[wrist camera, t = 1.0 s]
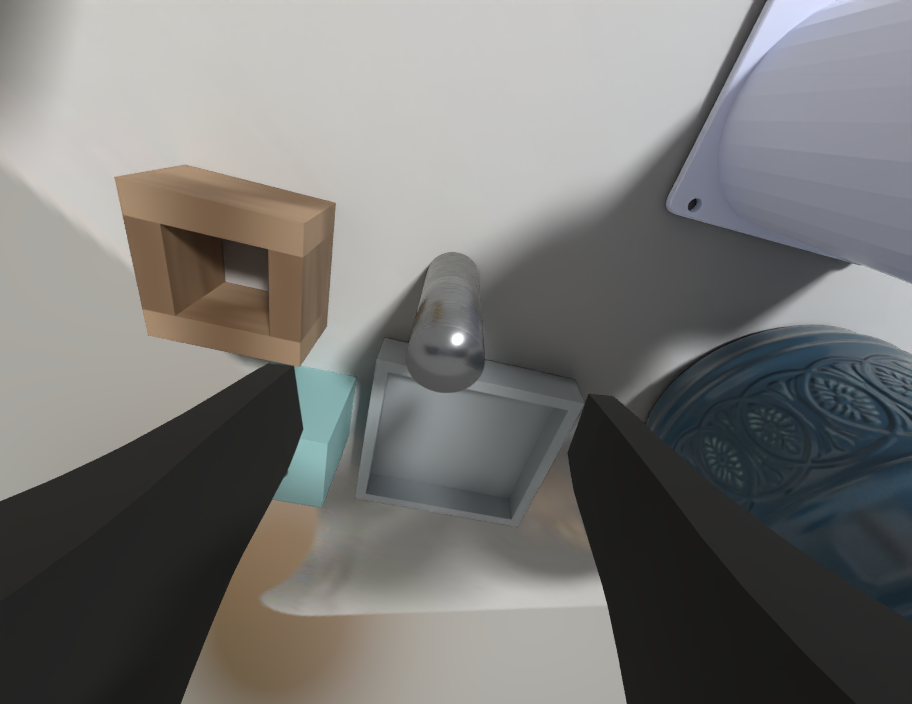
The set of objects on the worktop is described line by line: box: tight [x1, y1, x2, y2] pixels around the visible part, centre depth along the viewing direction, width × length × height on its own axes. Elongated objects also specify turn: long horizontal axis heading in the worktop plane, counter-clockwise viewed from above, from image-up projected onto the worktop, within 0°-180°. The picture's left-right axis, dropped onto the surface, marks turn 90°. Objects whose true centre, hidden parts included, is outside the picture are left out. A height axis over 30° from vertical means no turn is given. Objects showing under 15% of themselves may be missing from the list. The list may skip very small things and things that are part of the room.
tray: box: [355, 338, 585, 527], centre depth 22 cm, size 10×10×2 cm
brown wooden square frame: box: [115, 165, 336, 367], centre depth 16 cm, size 6×6×4 cm
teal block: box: [269, 361, 356, 508], centre depth 19 cm, size 4×4×5 cm
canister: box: [646, 325, 912, 622], centre depth 14 cm, size 13×13×18 cm
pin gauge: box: [406, 252, 485, 393], centre depth 15 cm, size 2×2×7 cm
